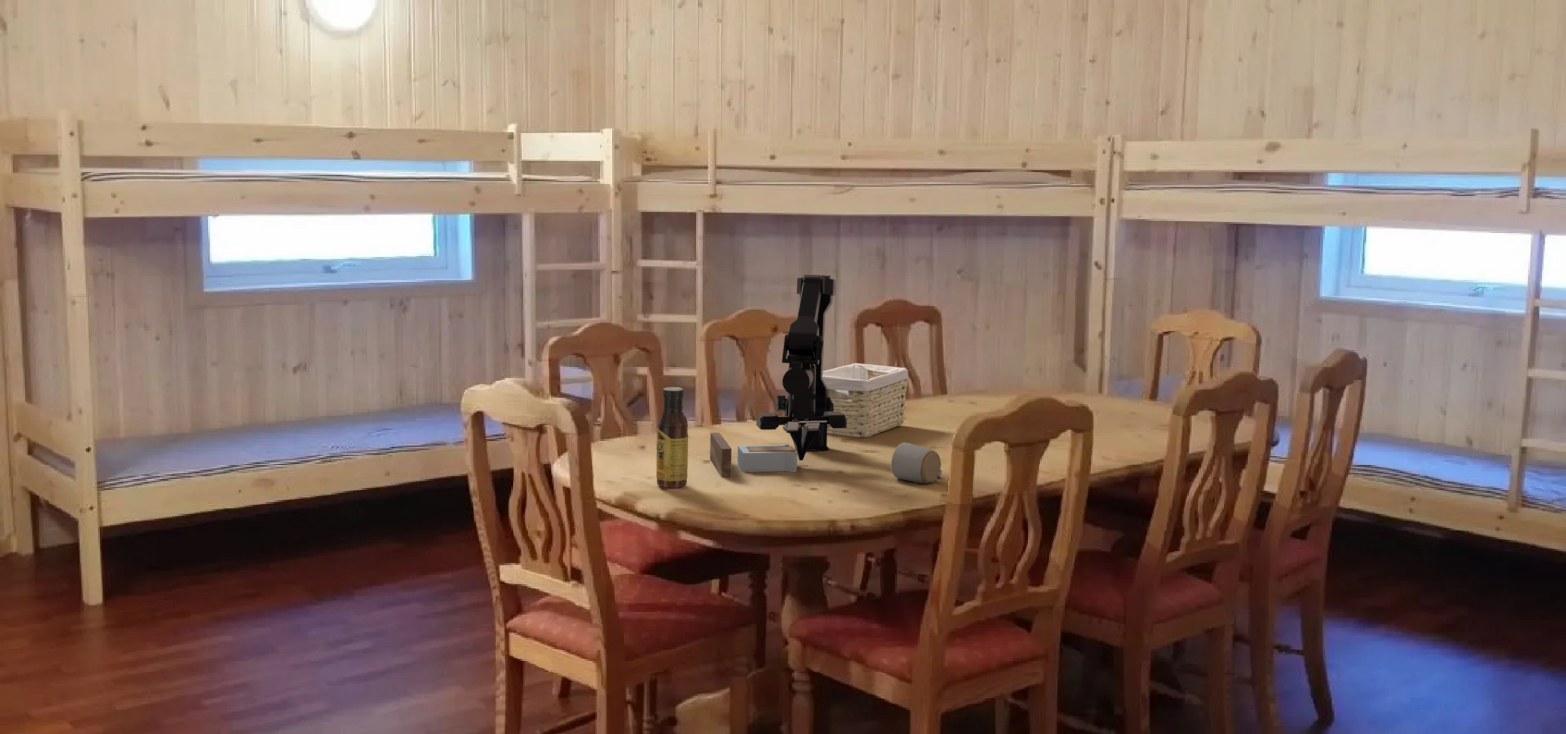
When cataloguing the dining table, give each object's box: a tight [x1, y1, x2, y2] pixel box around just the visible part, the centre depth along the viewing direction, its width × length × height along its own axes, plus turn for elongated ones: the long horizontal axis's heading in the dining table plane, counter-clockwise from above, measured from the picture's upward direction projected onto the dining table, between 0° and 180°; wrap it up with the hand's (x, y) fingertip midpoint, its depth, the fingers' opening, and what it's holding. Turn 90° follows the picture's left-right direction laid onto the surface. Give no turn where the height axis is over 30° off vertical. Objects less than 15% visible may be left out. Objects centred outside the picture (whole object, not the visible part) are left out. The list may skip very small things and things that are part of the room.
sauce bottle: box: [655, 386, 689, 489], centre depth 288 cm, size 7×6×20 cm
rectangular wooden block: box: [746, 446, 796, 453], centre depth 309 cm, size 10×4×4 cm, turn 101°
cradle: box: [737, 443, 798, 473], centre depth 308 cm, size 11×11×4 cm
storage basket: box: [823, 362, 909, 439], centre depth 355 cm, size 24×16×15 cm
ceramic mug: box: [890, 441, 943, 484], centre depth 299 cm, size 11×8×8 cm
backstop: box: [709, 432, 733, 478], centre depth 306 cm, size 2×18×6 cm, turn 10°
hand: (800, 460), depth 310 cm, fingers closed
